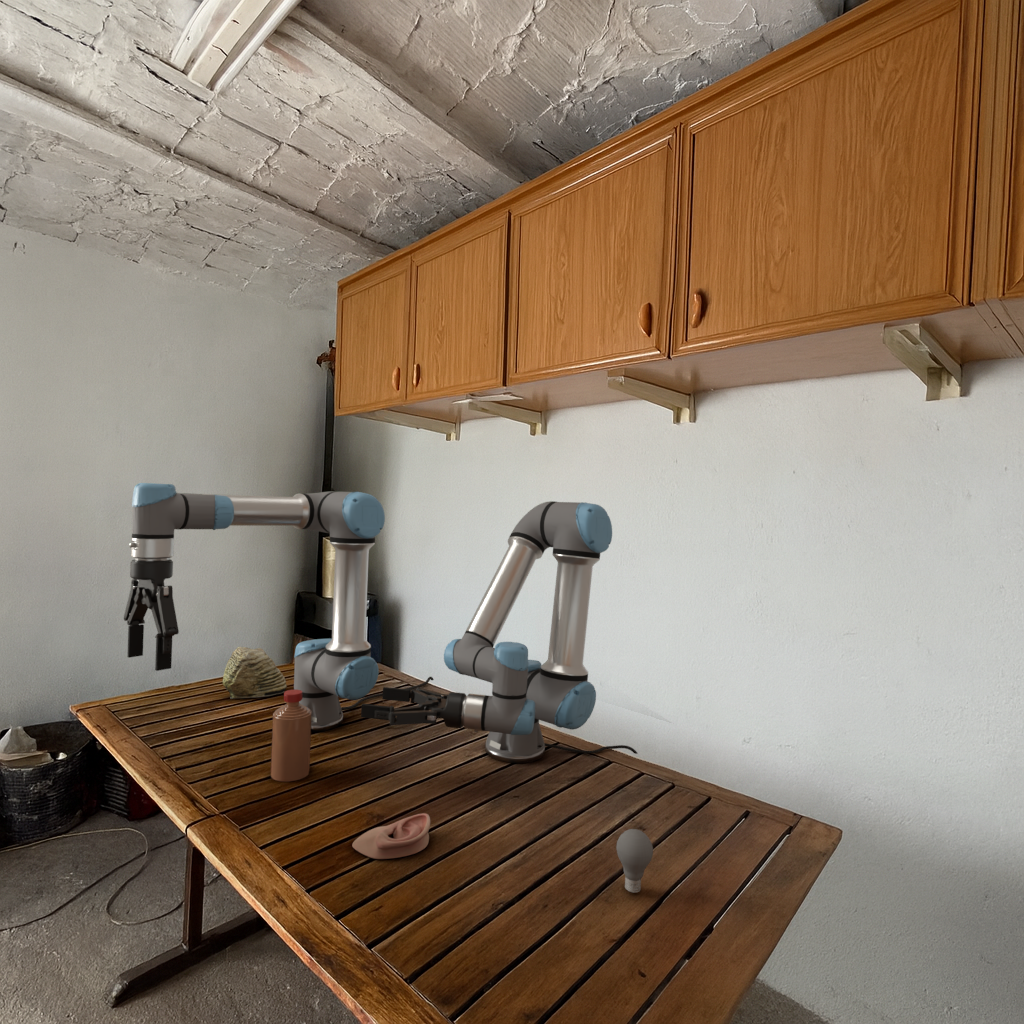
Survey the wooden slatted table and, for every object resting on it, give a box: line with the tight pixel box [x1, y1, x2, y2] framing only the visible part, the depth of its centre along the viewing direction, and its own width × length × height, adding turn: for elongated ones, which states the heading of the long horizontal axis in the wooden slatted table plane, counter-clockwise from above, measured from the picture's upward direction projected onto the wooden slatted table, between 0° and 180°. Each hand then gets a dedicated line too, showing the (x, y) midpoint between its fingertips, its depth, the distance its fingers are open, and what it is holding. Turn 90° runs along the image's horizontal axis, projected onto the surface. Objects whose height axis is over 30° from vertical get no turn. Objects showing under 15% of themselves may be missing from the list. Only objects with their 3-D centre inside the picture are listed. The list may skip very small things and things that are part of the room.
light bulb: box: [615, 828, 654, 894], centre depth 106 cm, size 6×6×10 cm
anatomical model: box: [351, 812, 431, 860], centre depth 117 cm, size 13×4×12 cm
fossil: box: [222, 646, 288, 699], centre depth 198 cm, size 9×18×15 cm, turn 132°
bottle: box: [270, 702, 312, 782], centre depth 144 cm, size 8×8×18 cm
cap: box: [283, 689, 302, 703], centre depth 144 cm, size 4×4×2 cm
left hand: (148, 662), depth 129 cm, fingers open, 13 cm apart
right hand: (372, 701), depth 143 cm, fingers open, 13 cm apart
